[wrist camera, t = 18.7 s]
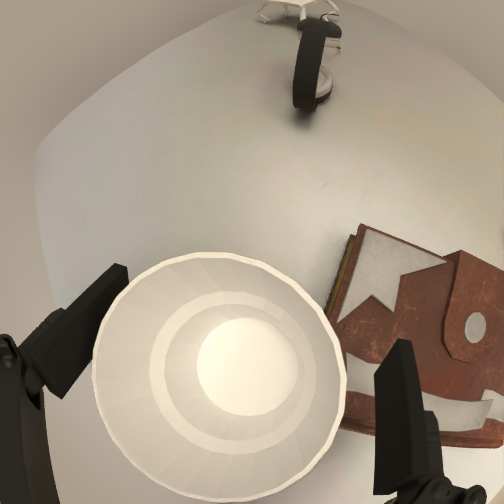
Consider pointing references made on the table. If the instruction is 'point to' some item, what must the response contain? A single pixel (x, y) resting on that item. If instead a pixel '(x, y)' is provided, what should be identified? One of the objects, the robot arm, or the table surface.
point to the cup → (219, 377)
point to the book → (423, 333)
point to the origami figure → (296, 1)
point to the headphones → (313, 62)
